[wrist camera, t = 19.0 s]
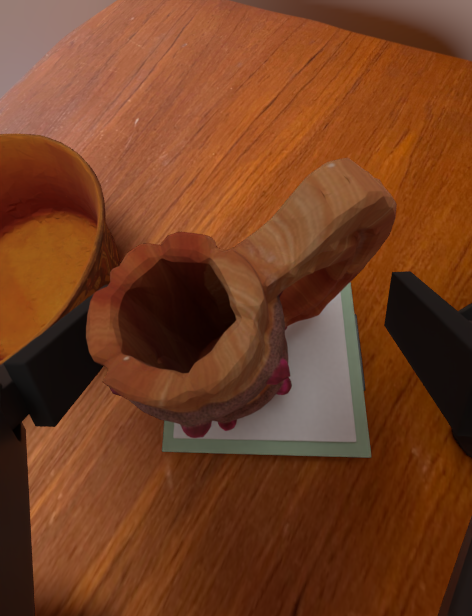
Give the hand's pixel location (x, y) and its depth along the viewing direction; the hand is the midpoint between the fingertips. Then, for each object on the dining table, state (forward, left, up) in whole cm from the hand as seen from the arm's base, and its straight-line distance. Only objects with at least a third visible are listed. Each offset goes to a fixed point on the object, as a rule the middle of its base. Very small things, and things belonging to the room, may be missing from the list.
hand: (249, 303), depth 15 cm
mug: (0, 0, -10) cm, 10 cm away
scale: (0, 0, -12) cm, 12 cm away
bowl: (+21, -7, -13) cm, 25 cm away
